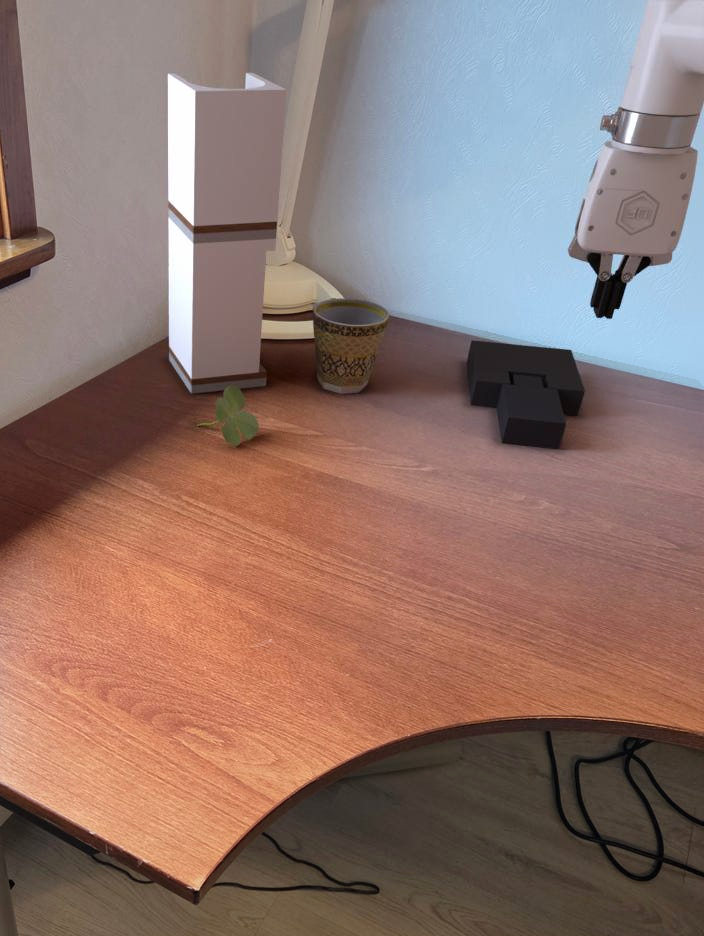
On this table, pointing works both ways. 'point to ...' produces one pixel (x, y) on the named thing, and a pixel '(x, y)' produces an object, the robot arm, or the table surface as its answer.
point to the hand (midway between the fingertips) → (602, 314)
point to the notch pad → (522, 372)
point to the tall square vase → (221, 226)
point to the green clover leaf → (234, 416)
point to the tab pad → (530, 413)
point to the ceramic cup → (347, 342)
